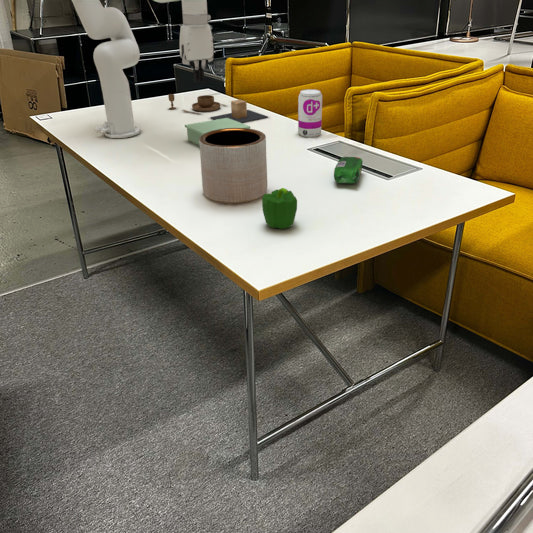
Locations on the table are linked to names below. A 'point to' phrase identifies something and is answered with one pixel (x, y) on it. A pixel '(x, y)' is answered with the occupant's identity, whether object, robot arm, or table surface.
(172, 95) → the place setting
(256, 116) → the mat
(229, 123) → the lid
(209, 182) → the planter
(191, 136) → the lunchbox
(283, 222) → the bell pepper
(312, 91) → the supplement can
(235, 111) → the block
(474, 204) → the table surface
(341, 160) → the snack package
